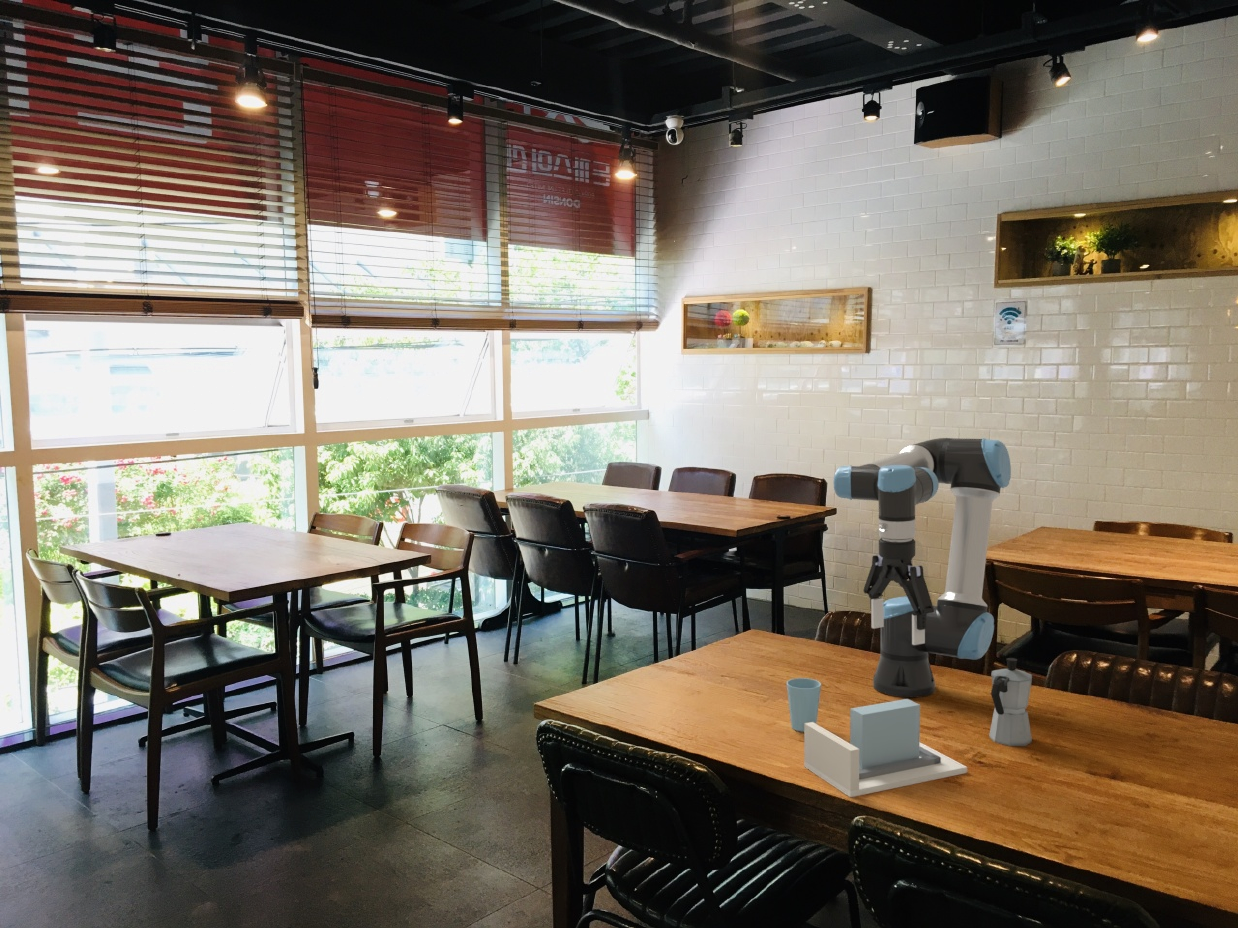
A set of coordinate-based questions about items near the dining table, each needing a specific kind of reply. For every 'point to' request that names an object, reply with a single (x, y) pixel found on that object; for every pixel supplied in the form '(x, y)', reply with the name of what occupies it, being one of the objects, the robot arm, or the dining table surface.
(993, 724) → the coffee maker
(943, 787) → the dining table surface
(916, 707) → the light blue block
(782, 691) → the dining table surface
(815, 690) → the cup
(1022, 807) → the dining table surface
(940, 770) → the track
